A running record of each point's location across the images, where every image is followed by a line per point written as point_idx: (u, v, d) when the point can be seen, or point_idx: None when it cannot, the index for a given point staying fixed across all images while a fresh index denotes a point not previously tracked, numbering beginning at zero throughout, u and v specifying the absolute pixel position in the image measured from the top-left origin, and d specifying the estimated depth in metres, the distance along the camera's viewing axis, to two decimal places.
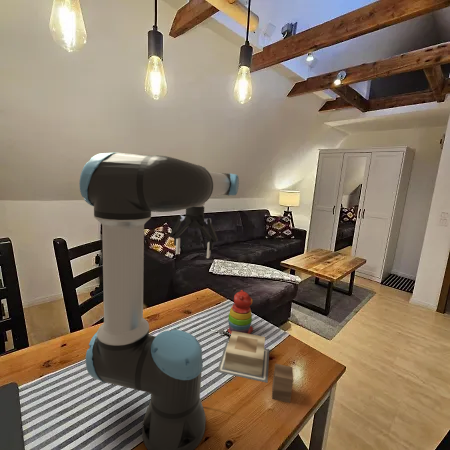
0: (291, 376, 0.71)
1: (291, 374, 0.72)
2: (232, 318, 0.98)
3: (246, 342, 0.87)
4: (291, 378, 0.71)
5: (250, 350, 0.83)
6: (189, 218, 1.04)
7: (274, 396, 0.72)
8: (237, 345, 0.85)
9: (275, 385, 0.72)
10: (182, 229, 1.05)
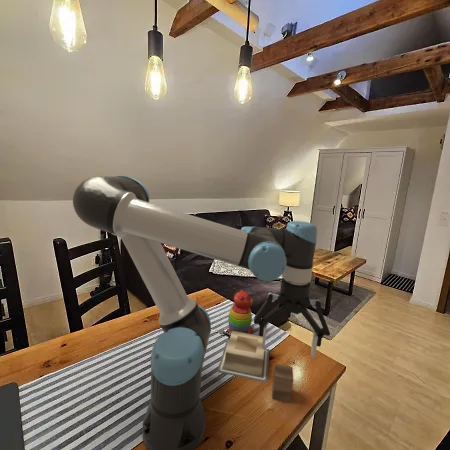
0: (291, 376, 0.71)
1: (291, 374, 0.72)
2: (232, 318, 0.98)
3: (246, 342, 0.87)
4: (291, 378, 0.71)
5: (250, 350, 0.83)
6: (286, 299, 0.68)
7: (274, 396, 0.72)
8: (237, 345, 0.85)
9: (275, 385, 0.72)
10: (274, 314, 0.69)
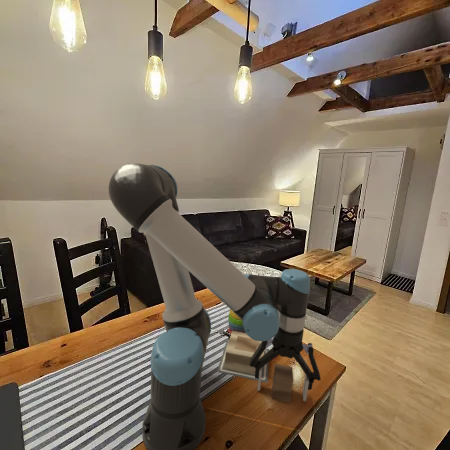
0: (291, 376, 0.71)
1: (291, 374, 0.72)
2: (233, 318, 0.98)
3: (246, 342, 0.87)
4: (291, 378, 0.71)
5: (250, 350, 0.83)
6: (280, 344, 0.71)
7: (274, 396, 0.72)
8: (237, 345, 0.85)
9: (275, 385, 0.72)
10: (269, 358, 0.72)
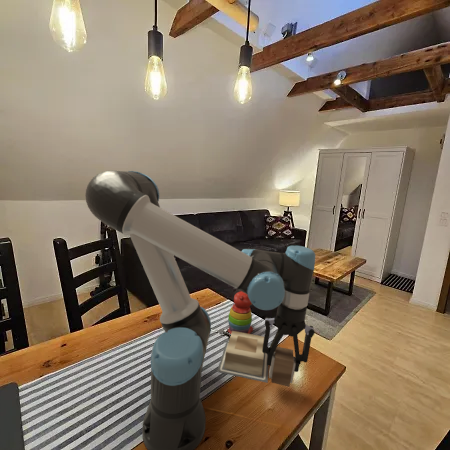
0: (292, 358, 0.70)
1: (292, 356, 0.71)
2: (232, 318, 0.98)
3: (246, 342, 0.87)
4: (292, 360, 0.70)
5: (250, 350, 0.83)
6: (282, 320, 0.69)
7: (274, 378, 0.71)
8: (237, 345, 0.85)
9: (275, 367, 0.71)
10: (277, 341, 0.71)
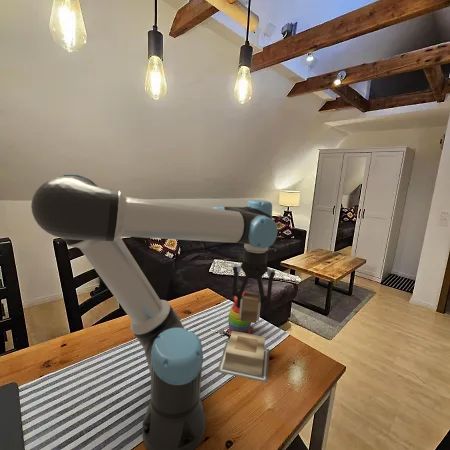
0: (257, 298, 0.81)
1: (257, 297, 0.82)
2: (232, 318, 0.98)
3: (246, 342, 0.87)
4: (257, 299, 0.80)
5: (250, 350, 0.83)
6: (247, 264, 0.80)
7: (242, 316, 0.82)
8: (237, 345, 0.85)
9: (243, 306, 0.81)
10: (244, 284, 0.81)
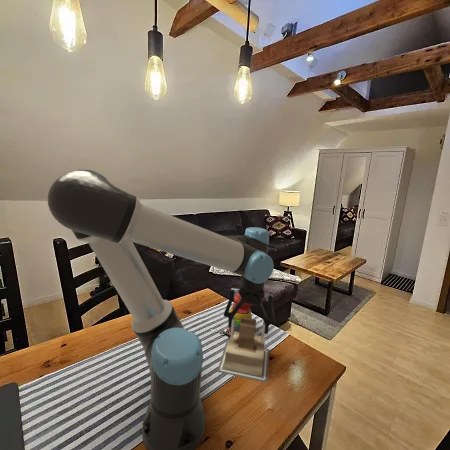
0: (254, 325, 0.83)
1: (254, 324, 0.84)
2: None
3: None
4: (253, 326, 0.82)
5: (250, 350, 0.83)
6: (245, 291, 0.82)
7: (240, 343, 0.84)
8: (237, 345, 0.85)
9: (240, 333, 0.83)
10: (238, 307, 0.83)
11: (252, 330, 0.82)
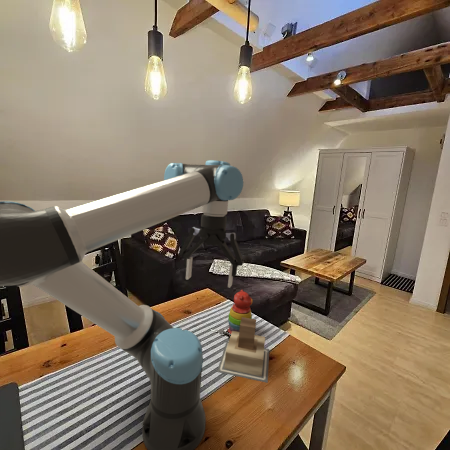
0: (254, 325, 0.83)
1: (254, 324, 0.84)
2: (232, 318, 0.98)
3: None
4: (253, 326, 0.82)
5: (250, 350, 0.83)
6: (205, 232, 0.76)
7: (240, 343, 0.84)
8: (237, 345, 0.85)
9: (240, 333, 0.83)
10: (195, 246, 0.77)
11: (252, 330, 0.82)
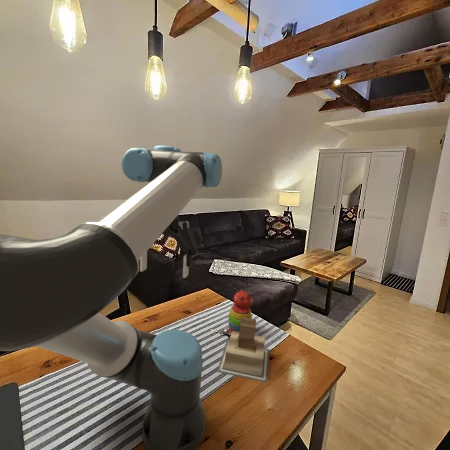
0: (254, 325, 0.83)
1: (254, 324, 0.84)
2: (232, 318, 0.98)
3: None
4: (253, 326, 0.82)
5: (250, 350, 0.83)
6: None
7: (240, 343, 0.84)
8: (237, 345, 0.85)
9: (240, 333, 0.83)
10: None
11: (252, 330, 0.82)
